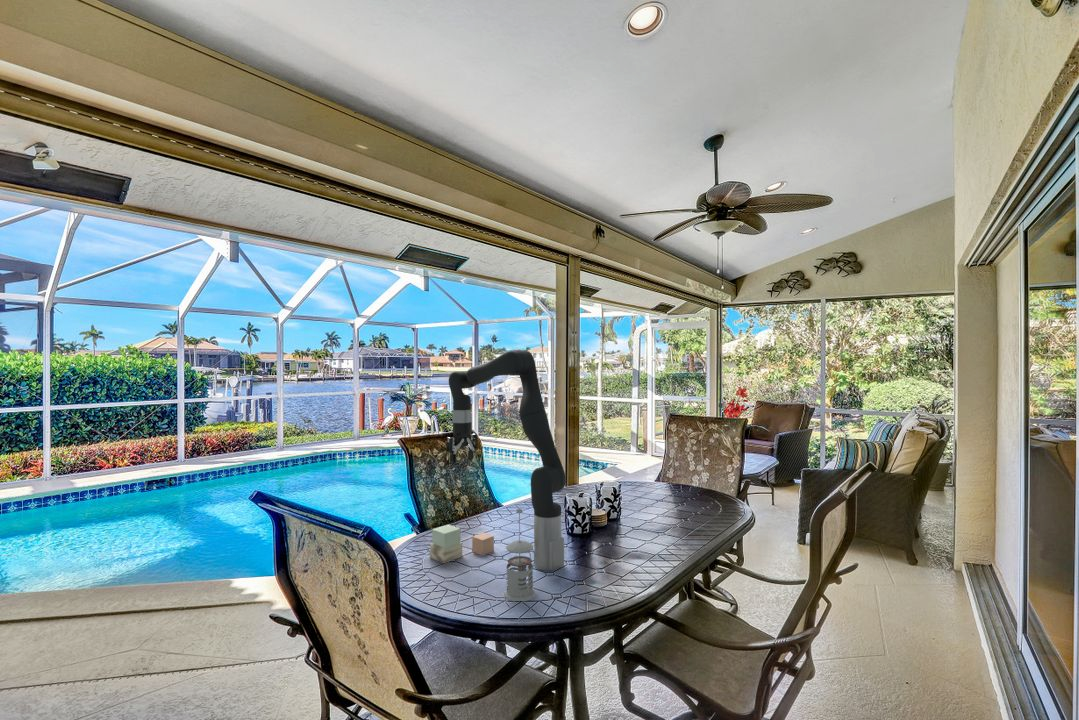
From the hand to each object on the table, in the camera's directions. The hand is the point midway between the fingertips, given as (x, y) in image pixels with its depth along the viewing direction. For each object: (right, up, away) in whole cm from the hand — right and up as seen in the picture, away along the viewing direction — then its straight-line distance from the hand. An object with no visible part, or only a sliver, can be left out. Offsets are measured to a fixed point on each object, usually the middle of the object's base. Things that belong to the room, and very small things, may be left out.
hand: (462, 461), depth 194 cm
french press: (+25, -29, -50) cm, 63 cm away
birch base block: (-2, -29, -22) cm, 37 cm away
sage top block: (-2, -24, -22) cm, 33 cm away
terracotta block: (+10, -29, -17) cm, 35 cm away
